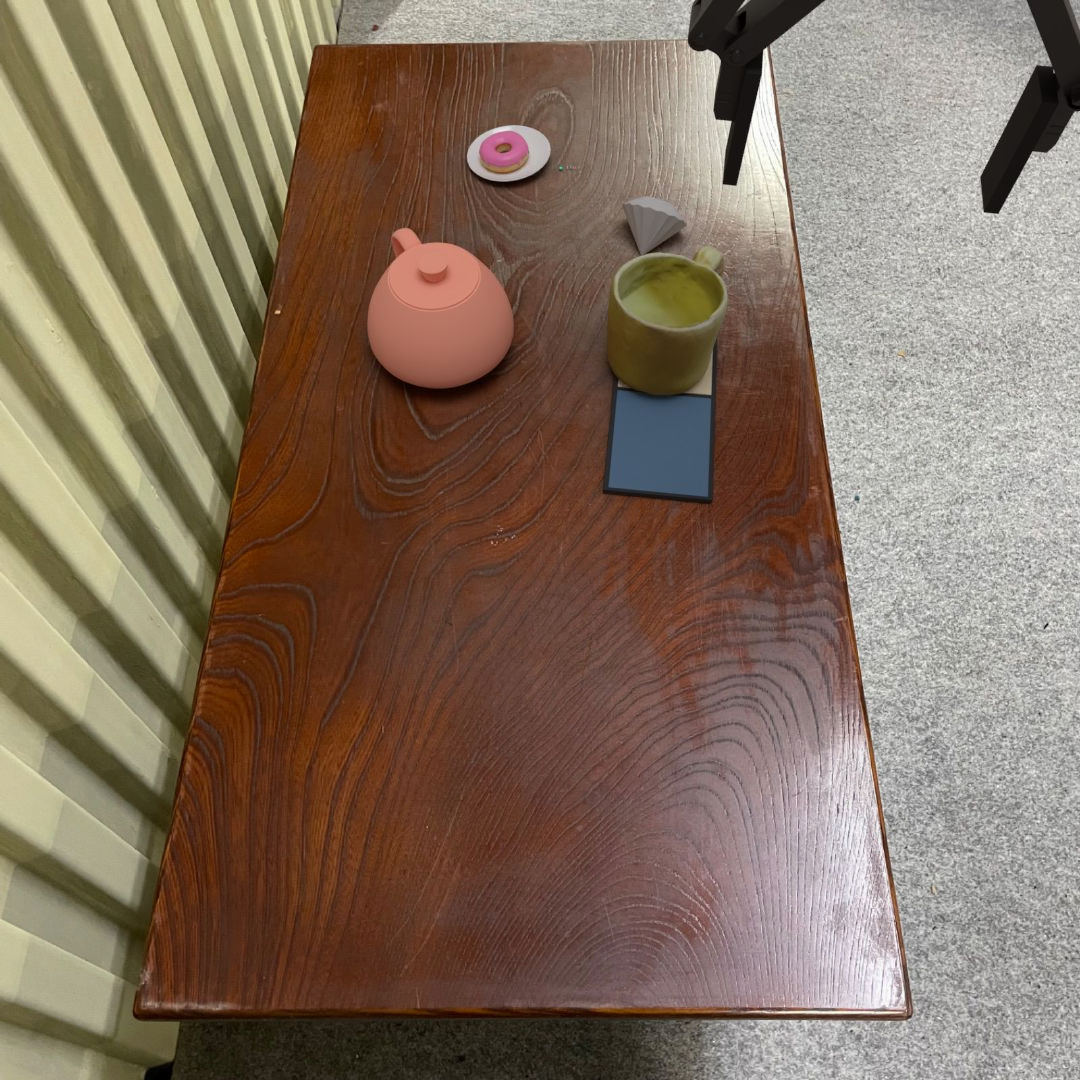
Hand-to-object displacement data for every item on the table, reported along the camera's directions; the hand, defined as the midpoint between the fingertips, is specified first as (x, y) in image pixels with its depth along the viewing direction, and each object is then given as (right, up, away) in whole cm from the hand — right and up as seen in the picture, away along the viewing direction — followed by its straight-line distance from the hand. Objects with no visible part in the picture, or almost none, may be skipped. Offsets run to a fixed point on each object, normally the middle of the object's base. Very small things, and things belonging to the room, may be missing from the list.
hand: (858, 182), depth 50 cm
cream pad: (-6, -3, +31) cm, 32 cm away
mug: (-6, -3, +31) cm, 31 cm away
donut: (-19, +18, +43) cm, 50 cm away
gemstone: (-7, +9, +38) cm, 40 cm away
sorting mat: (-7, -7, +29) cm, 30 cm away
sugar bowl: (-26, -2, +32) cm, 41 cm away
